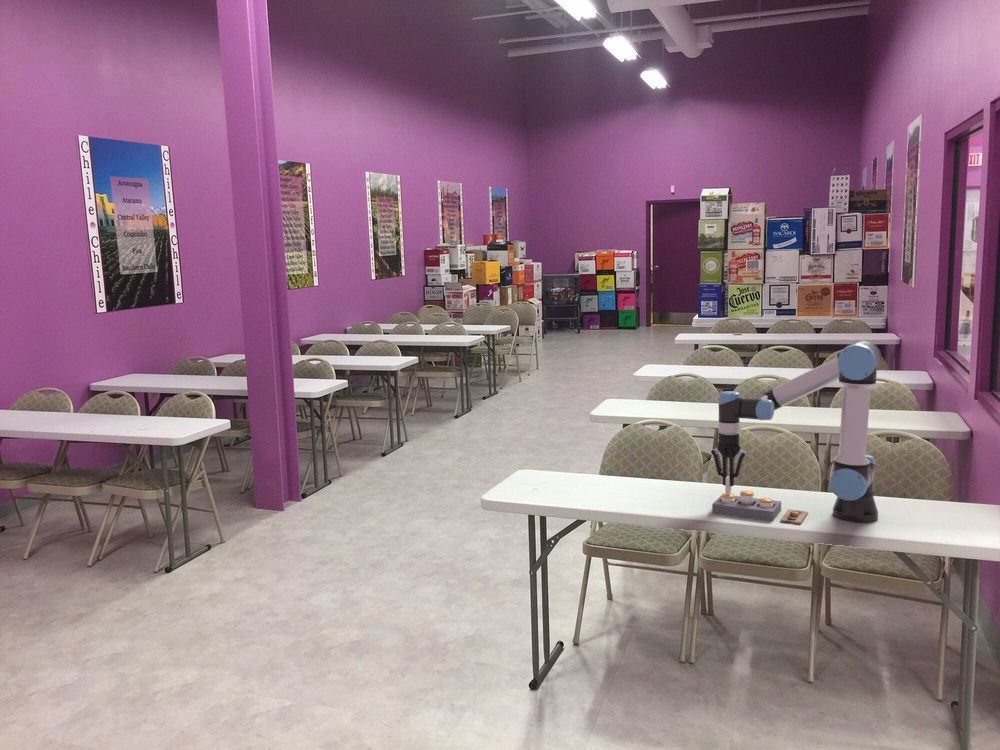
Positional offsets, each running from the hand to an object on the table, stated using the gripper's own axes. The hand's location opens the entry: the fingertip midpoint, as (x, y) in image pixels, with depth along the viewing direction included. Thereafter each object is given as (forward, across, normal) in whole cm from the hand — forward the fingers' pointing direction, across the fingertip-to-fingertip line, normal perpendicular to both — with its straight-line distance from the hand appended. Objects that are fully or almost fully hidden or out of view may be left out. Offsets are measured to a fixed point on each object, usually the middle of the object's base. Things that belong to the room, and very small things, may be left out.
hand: (728, 494), depth 307 cm
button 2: (+5, -14, 0) cm, 15 cm away
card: (+6, -24, 0) cm, 25 cm away
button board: (+6, -7, 0) cm, 9 cm away
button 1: (+5, 0, 0) cm, 5 cm away
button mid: (+3, -7, 0) cm, 7 cm away
